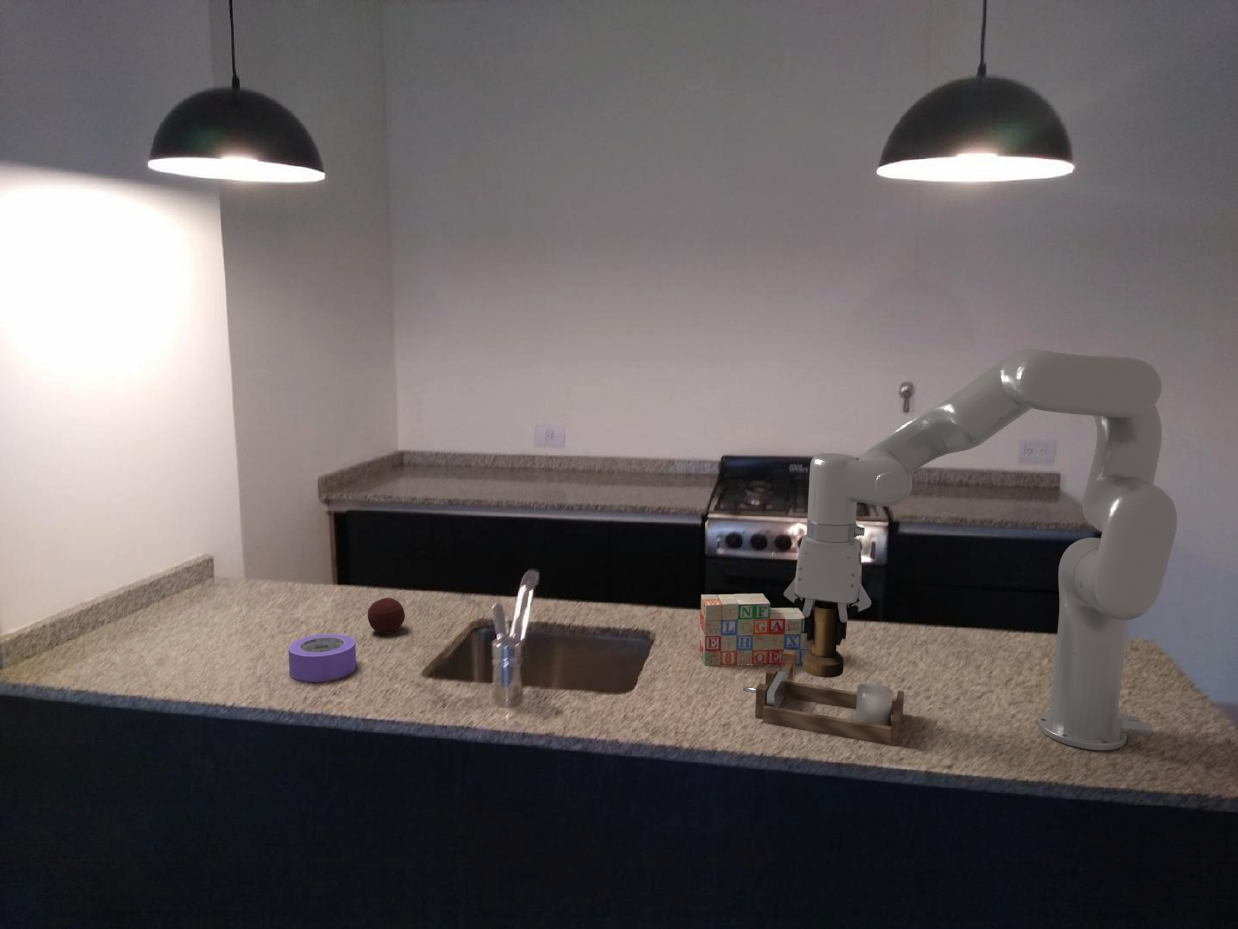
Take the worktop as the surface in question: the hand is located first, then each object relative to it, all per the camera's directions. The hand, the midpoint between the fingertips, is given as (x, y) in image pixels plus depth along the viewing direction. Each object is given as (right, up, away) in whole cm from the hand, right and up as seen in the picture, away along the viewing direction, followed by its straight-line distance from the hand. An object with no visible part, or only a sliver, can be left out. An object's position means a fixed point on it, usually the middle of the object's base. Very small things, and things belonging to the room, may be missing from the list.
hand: (824, 639), depth 146 cm
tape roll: (-88, -10, +20) cm, 91 cm away
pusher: (-8, -12, +9) cm, 17 cm away
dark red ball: (-81, -6, +39) cm, 91 cm away
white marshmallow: (+8, -14, -1) cm, 16 cm away
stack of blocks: (-7, -9, +27) cm, 29 cm away
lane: (+1, -13, +2) cm, 13 cm away
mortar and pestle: (0, -5, +1) cm, 5 cm away
